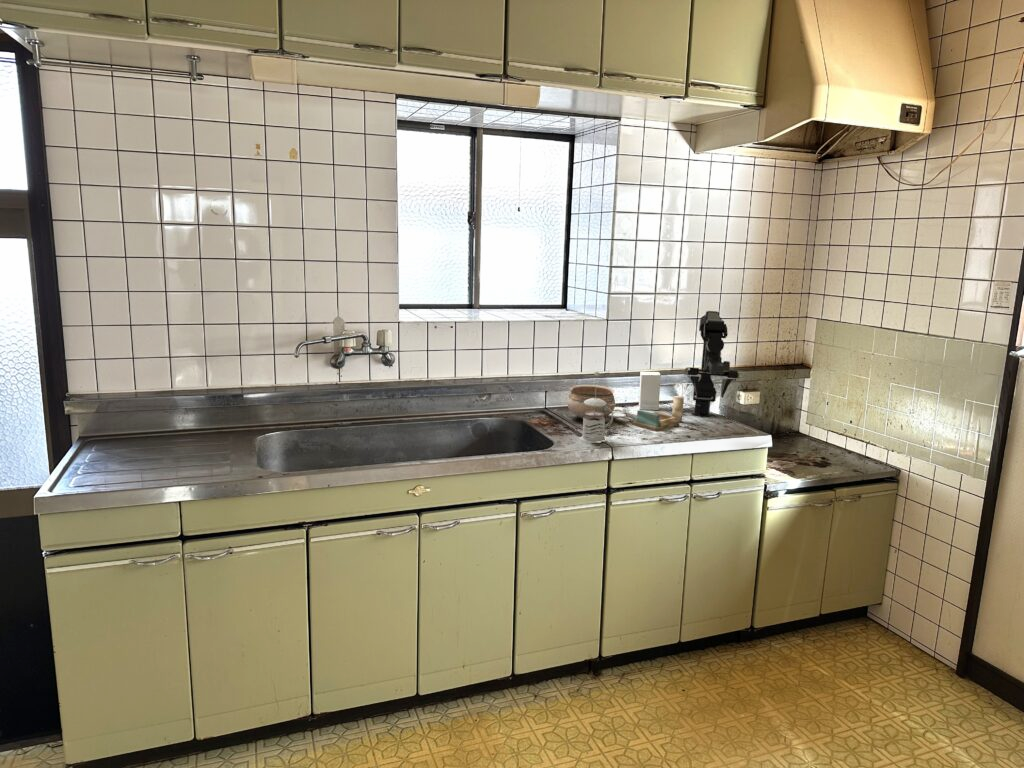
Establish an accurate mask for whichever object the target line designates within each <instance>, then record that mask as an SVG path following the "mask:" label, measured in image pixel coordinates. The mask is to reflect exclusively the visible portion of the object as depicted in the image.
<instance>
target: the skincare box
mask: <svg viewBox="0 0 1024 768" xmlns="http://www.w3.org/2000/svg"><path fill="white" fill-rule="evenodd" d="M639 374H640V375H639V395H638V408H639V410H643V411H660V410H659V407H660V391H661V390H660V389H661V376H662V375H661V373H660V372H659V371H640V373H639Z"/></svg>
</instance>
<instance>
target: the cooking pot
mask: <svg viewBox="0 0 1024 768" xmlns="http://www.w3.org/2000/svg"><path fill="white" fill-rule="evenodd" d="M569 390H570V391H569V392H568V393H567V396H568V397H567V401H566V403H567V407H568V409H569V410H570V412H571V413H572V414H573V415H575V416H576V417H577V418H579V419H580V420H582V421H583V417H584V416H586V415H585V414H584V413H585V412H588V411H594V409H595V412H602V413H604V416H603V417H604V418H606V417H608V416H609V415H612V413H611V410H612V412H613V411H614V410H615V407H617V403H616V401H615V400H616V399H615V396H614V392H615V390H614V389H613V388H612V387H609V386H605V385H598V384H578V385H573V386H570V387H569ZM595 392H596V398H599V399H601V400H604V401H605V402H606V405H605V406H607V407H609V408H610V409H611V410H610V409H608V408H606V407H605V406H601V407H594V406H588V405H585V404H584V401H585V400H587V399H590V398H595ZM605 409H606V411H605ZM590 420H598V421H600V420H599V419H597V418H591V419H590Z"/></svg>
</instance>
